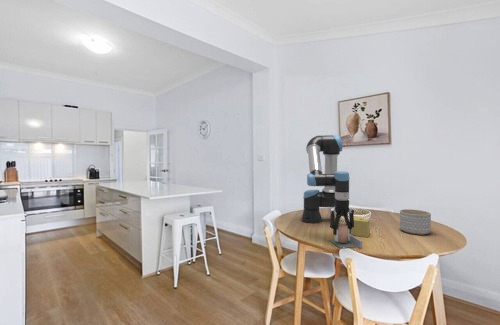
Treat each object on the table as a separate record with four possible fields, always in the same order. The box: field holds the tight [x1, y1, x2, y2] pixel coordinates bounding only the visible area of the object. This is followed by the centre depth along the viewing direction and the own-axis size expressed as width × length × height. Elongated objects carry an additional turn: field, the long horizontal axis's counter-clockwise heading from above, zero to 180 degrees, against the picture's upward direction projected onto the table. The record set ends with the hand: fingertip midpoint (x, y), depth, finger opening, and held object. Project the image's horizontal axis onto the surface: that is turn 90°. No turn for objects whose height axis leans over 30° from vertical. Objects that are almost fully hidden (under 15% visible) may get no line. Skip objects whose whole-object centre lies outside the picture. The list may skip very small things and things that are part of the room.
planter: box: [399, 208, 432, 236], centre depth 156 cm, size 16×16×13 cm
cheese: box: [351, 215, 371, 238], centre depth 153 cm, size 10×11×10 cm
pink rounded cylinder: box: [337, 222, 349, 243], centre depth 136 cm, size 6×6×9 cm
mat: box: [329, 239, 357, 249], centre depth 136 cm, size 12×9×1 cm
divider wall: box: [348, 234, 363, 249], centre depth 137 cm, size 16×1×4 cm, turn 9°
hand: (342, 240), depth 136 cm, fingers closed on pink rounded cylinder, 6 cm apart
